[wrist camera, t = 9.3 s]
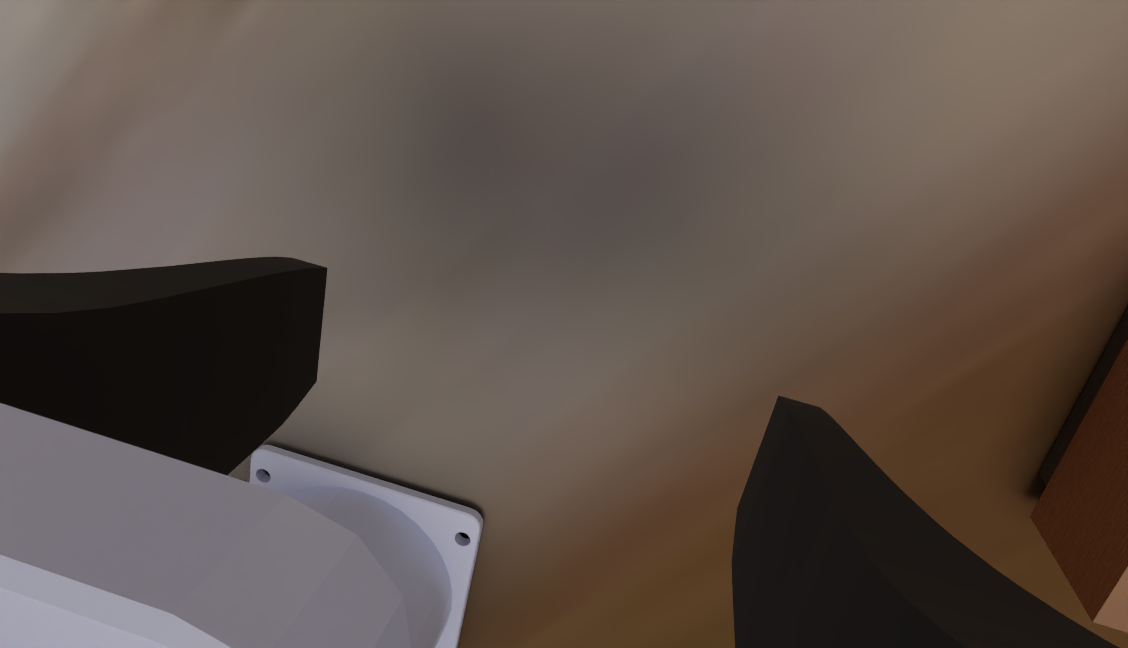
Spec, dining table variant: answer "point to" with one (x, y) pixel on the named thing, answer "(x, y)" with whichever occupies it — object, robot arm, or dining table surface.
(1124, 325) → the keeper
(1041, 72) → the dining table surface
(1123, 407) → the copper rectangular sleeve
